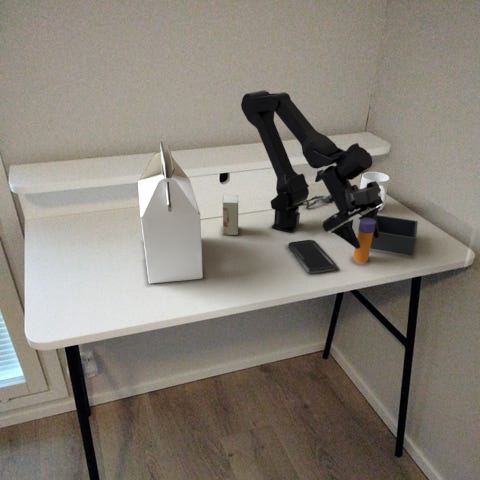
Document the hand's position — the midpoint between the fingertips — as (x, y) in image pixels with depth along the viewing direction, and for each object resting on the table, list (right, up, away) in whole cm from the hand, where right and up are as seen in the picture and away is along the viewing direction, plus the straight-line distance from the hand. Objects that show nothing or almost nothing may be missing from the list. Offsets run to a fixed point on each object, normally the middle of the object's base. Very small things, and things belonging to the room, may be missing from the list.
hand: (368, 242), depth 119 cm
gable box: (-51, -4, +3) cm, 51 cm away
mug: (+9, +15, +30) cm, 35 cm away
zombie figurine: (-6, +19, +34) cm, 39 cm away
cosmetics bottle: (-36, +6, +16) cm, 40 cm away
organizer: (+9, +2, +12) cm, 15 cm away
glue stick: (-1, -4, +4) cm, 6 cm away
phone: (-14, -3, +5) cm, 15 cm away
